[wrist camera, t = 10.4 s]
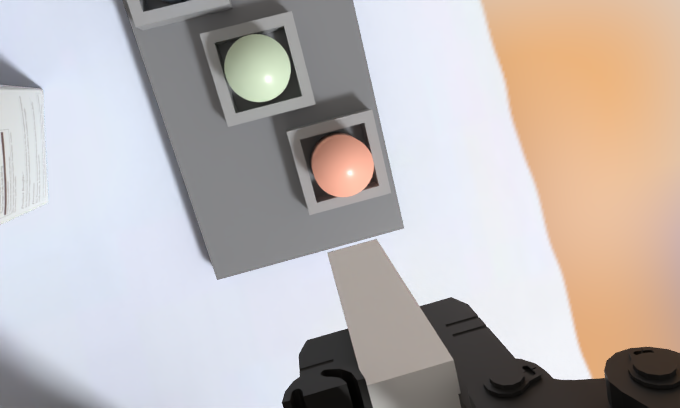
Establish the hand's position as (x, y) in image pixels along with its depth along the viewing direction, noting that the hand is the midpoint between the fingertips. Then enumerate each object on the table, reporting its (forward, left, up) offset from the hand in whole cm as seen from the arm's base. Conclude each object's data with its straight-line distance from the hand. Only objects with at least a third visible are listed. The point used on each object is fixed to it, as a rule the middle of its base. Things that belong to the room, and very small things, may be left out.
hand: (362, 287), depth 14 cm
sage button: (-2, +8, -24) cm, 25 cm away
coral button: (+2, 0, -24) cm, 24 cm away
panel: (-2, +8, -26) cm, 28 cm away
